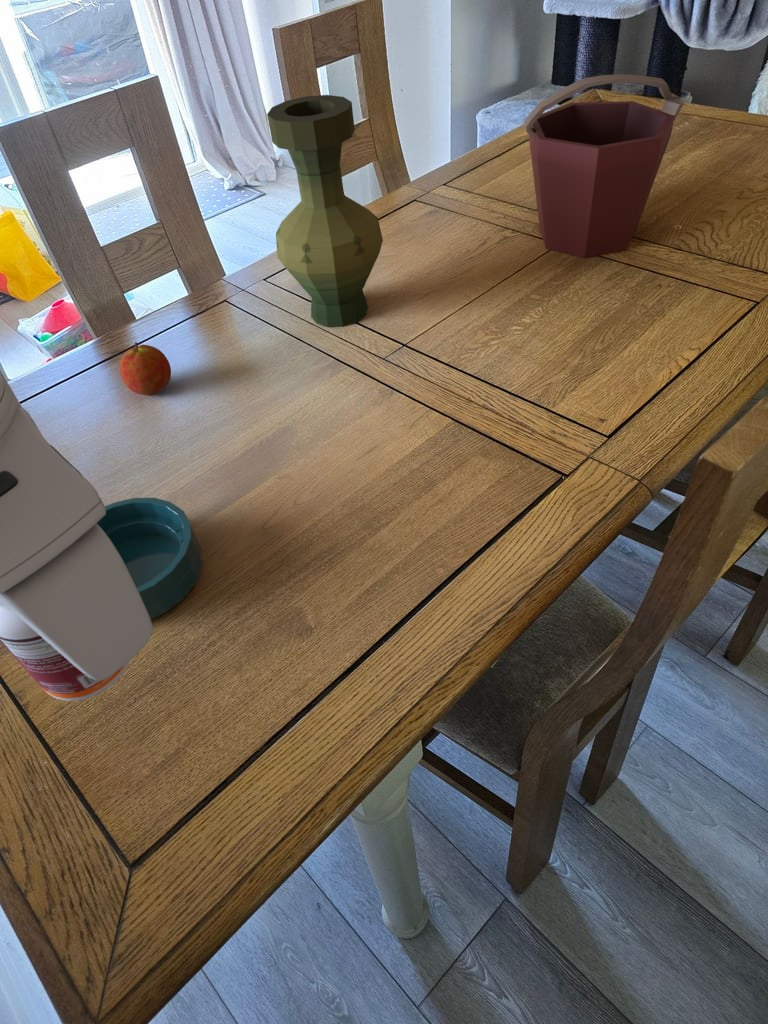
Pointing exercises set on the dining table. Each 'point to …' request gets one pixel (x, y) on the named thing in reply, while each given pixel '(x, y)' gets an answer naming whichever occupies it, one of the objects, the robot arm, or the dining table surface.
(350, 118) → the vase
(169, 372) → the fruit
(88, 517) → the robot arm
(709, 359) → the dining table surface
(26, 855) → the dining table surface
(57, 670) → the pill bottle
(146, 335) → the dining table surface
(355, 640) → the dining table surface
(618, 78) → the bucket
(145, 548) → the bowl
